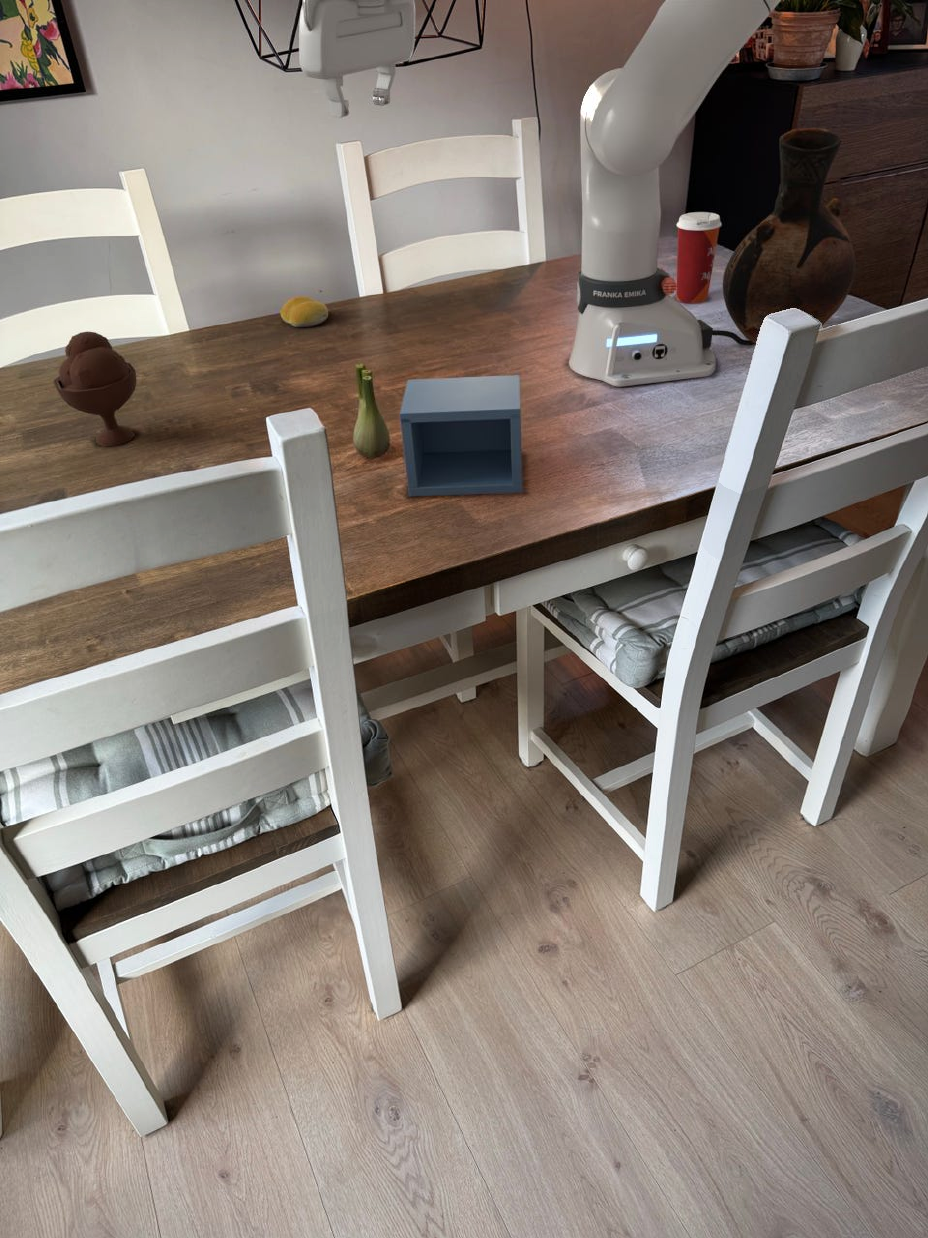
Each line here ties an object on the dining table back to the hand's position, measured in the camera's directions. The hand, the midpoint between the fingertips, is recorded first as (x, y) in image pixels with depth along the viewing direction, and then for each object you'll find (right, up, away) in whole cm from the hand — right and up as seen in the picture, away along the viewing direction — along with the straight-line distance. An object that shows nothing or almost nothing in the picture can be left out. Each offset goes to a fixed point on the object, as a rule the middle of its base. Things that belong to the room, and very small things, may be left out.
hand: (361, 110), depth 110 cm
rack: (+14, -47, -1) cm, 49 cm away
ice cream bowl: (-38, -39, +15) cm, 56 cm away
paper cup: (+55, -6, +48) cm, 73 cm away
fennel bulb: (+1, -43, +6) cm, 44 cm away
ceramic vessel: (+64, -20, +29) cm, 73 cm away
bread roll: (-17, -9, +51) cm, 55 cm away
